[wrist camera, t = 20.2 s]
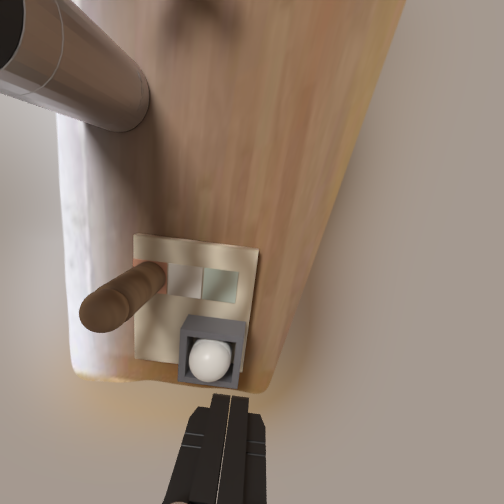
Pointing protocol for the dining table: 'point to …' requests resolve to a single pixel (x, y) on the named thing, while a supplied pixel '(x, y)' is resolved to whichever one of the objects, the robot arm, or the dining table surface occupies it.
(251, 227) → the dining table surface
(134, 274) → the pawn
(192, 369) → the dome button
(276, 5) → the dining table surface
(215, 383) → the dome frame
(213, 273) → the game board
